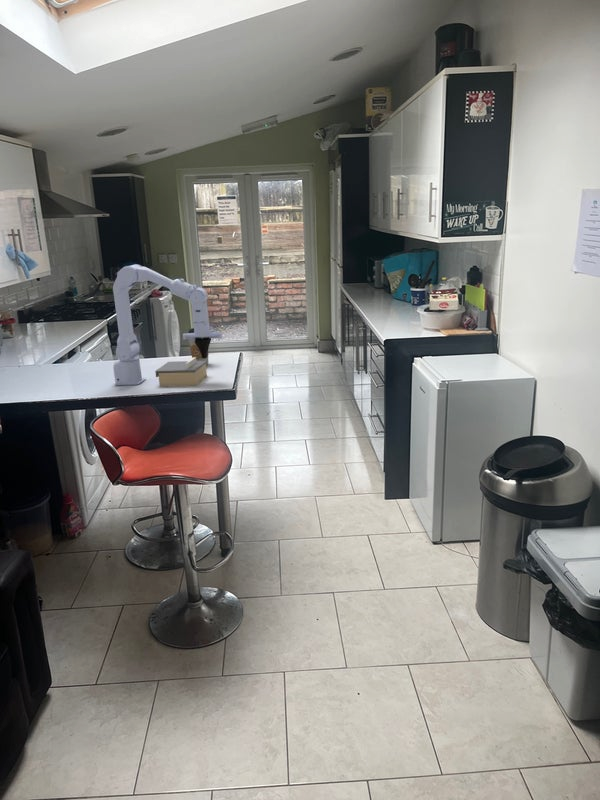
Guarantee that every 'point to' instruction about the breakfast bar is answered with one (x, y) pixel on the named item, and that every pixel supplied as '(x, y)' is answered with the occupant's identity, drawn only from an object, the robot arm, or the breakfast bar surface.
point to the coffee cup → (196, 349)
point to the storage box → (182, 377)
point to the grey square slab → (181, 366)
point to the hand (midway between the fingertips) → (204, 357)
